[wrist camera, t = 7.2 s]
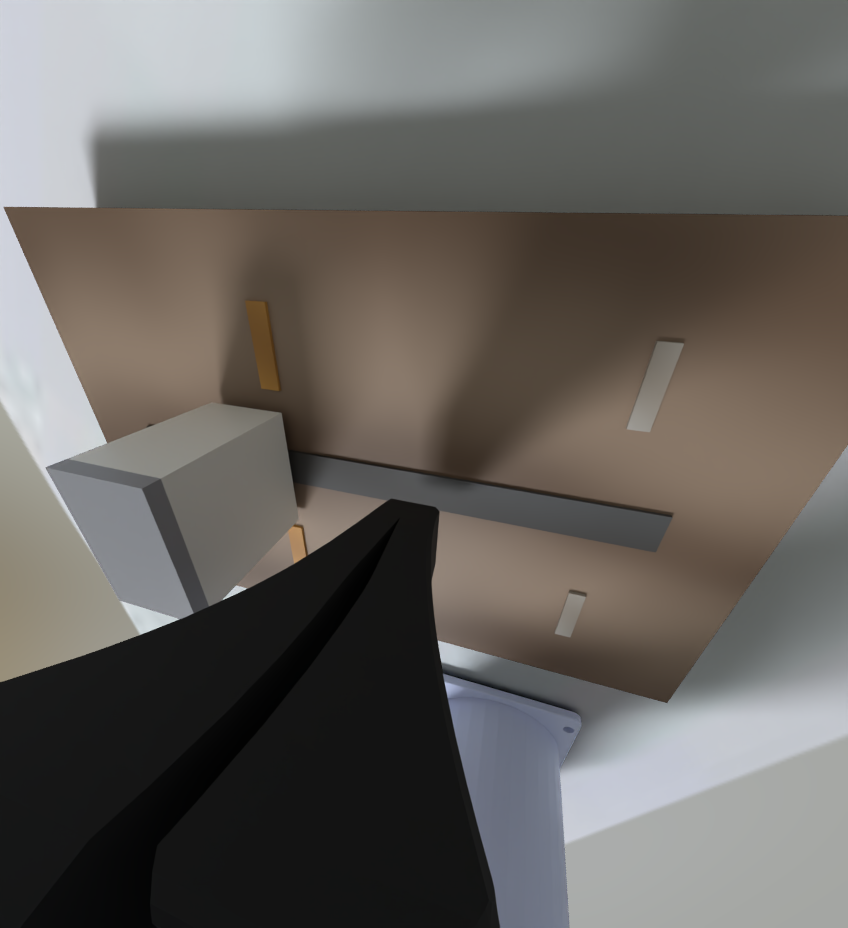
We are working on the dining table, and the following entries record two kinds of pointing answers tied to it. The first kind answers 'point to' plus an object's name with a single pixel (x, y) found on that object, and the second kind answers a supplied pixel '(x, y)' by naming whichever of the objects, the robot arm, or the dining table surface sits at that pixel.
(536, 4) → the dining table surface
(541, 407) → the slider board
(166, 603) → the fader tab
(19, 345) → the dining table surface
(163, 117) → the dining table surface
